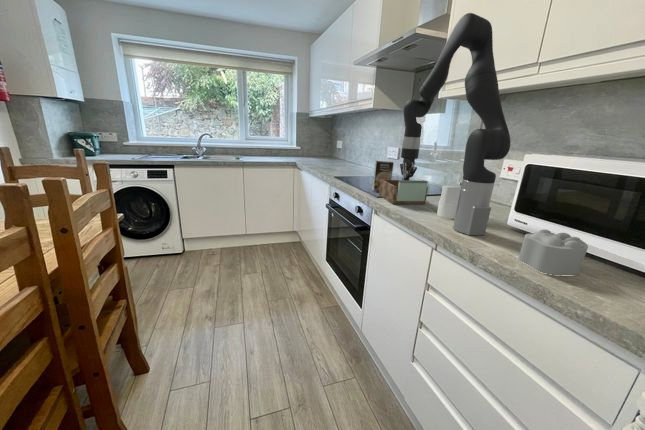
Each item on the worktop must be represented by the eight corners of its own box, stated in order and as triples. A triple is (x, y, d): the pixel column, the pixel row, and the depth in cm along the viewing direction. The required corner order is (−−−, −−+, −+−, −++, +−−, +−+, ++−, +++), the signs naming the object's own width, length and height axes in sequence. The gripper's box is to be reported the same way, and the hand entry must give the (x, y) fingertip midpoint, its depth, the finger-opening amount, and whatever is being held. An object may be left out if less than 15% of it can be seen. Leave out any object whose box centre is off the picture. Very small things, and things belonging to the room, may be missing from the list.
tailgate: (424, 201, 124) (427, 181, 122) (397, 200, 122) (400, 180, 120) (423, 200, 126) (426, 180, 123) (396, 200, 124) (398, 180, 121)
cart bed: (425, 204, 127) (427, 187, 124) (392, 204, 124) (394, 186, 122) (407, 195, 144) (409, 180, 141) (378, 195, 141) (380, 179, 139)
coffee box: (372, 191, 149) (375, 161, 144) (372, 189, 155) (374, 160, 150) (390, 192, 148) (393, 162, 143) (388, 190, 154) (392, 161, 149)
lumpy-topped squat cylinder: (511, 257, 75) (520, 227, 72) (553, 256, 77) (562, 227, 74) (546, 277, 65) (557, 243, 62) (593, 275, 67) (605, 242, 64)
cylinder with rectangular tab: (450, 212, 116) (455, 184, 113) (466, 218, 108) (472, 188, 105) (432, 212, 114) (437, 184, 110) (447, 219, 106) (453, 189, 102)
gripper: (425, 149, 118) (419, 188, 123) (411, 146, 131) (406, 182, 136) (409, 148, 117) (404, 188, 122) (396, 146, 129) (392, 182, 135)
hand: (405, 185), depth 129 cm, fingers closed
